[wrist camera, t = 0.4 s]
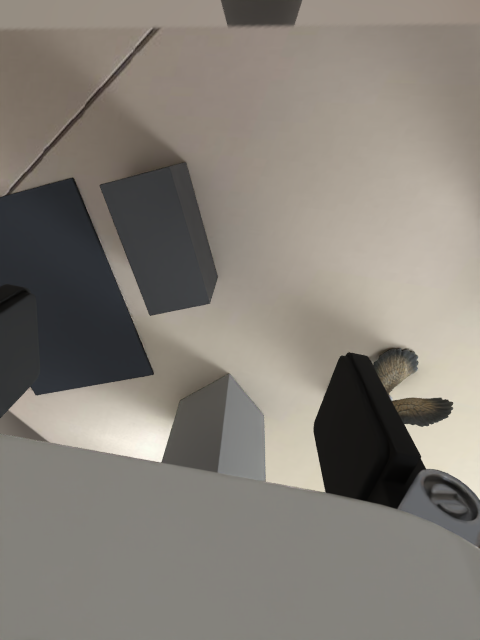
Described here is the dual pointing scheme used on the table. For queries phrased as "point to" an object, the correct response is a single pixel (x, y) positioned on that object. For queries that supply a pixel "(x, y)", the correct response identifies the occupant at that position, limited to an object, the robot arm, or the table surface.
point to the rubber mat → (68, 290)
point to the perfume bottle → (219, 432)
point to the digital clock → (163, 238)
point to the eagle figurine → (410, 410)
